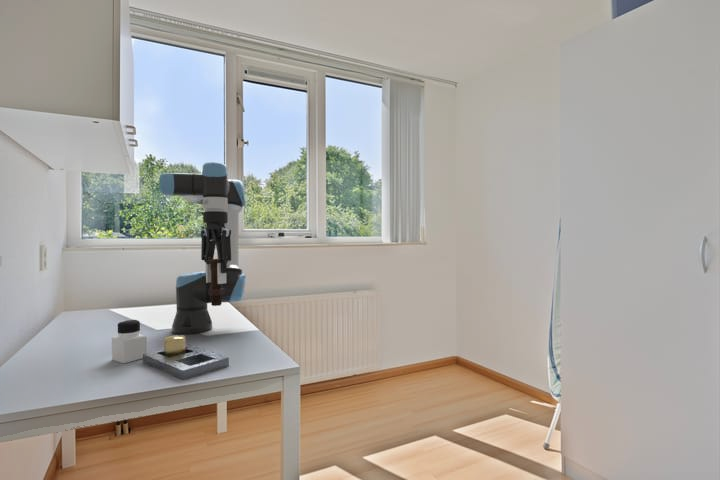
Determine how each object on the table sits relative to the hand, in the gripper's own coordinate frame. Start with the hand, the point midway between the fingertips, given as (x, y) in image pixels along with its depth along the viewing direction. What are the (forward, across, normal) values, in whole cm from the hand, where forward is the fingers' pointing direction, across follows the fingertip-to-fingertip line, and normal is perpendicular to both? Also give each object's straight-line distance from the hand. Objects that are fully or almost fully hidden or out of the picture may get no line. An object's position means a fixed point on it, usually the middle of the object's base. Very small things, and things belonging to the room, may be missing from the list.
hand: (216, 282), depth 129 cm
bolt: (+8, 0, 0) cm, 8 cm away
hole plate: (+23, +1, -11) cm, 26 cm away
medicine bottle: (+23, -18, -19) cm, 35 cm away
